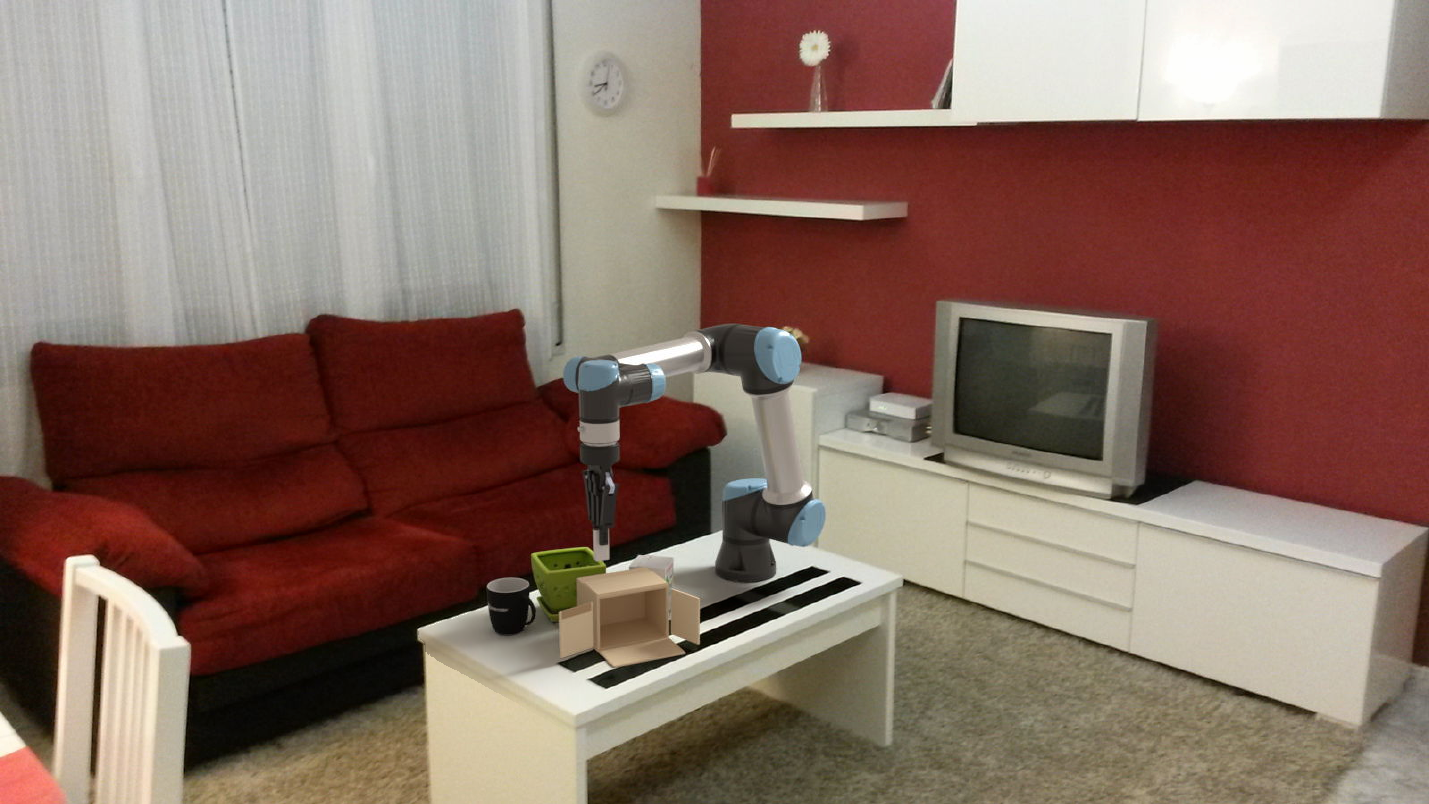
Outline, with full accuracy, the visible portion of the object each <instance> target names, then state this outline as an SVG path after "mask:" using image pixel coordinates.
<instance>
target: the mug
mask: <svg viewBox="0 0 1429 804" xmlns="http://www.w3.org/2000/svg"><path fill="white" fill-rule="evenodd" d="M530 588H531V587H530V583H529V581H528V580H526V579H524V578H520V577H502V578H497V579H494V580H491V581H490V582H488V583H487V585H486V599H487V607H488V615H489V619H490V623H491V624H490V625H491V627H492V630H494V632H495V633H496V634H497V635H502V636H511V635H512V636H514V635H517V634H520V633H522V632H523V631H524V630H525V629H526V626H530V625H531V624H533V623H534V621H535V620H536V617H537V609H536V605H535V603H534V602H533V601H532V599H531V598H530V594H531V593H530ZM529 608H530V612H531V617H530V619H529V620H528V616H529Z"/></svg>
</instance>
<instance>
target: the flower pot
mask: <svg viewBox="0 0 1429 804" xmlns="http://www.w3.org/2000/svg"><path fill="white" fill-rule="evenodd" d="M530 559H531V560H530V561H531V569H532V574H533V577H534V581H535V585H536V588H537V590H538V593H540V596H537V597H536V600H537V603H538V604H539V605H540V607H541V608H542V611H543V612H544V613H545V614H546V616H547V617H548V619H550V620H551V622H554V623H559V612H560V611H563V610H567V609H570V608H573V607H577V578H580V577H586V576H593V575H599V574H605V573H607V565H606V563H604V560H603V561H595V560H594V550H592V549H591V548H589V547H588V546H581V547H569V548H562V549H560V548H559V549H551V550H545V551H537V552H533V553H531V554H530ZM577 563H578V564H577ZM555 565H556V566H555ZM567 565H570V568H566V566H567Z"/></svg>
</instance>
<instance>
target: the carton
mask: <svg viewBox="0 0 1429 804" xmlns="http://www.w3.org/2000/svg"><path fill="white" fill-rule="evenodd" d="M590 602H593V647H592V649H594V650H595V651H596V652H597V653H599V654H600V656H602V657H603V658H604V660H605V661H607V663H609V665H610V666H611V667H612V668H614V669H616V668H621V667H625V666H631V665H635V664H641V663H646V662H651V661H655V660H661V659H666V658H671V657H675V656H680V655H681V656H682V655H685V654H686V652H685V650H684V649H683V648H681V647H680V646H679V645H678V644H677V643H675V641H673V640H672V639H671V638H670V634H671V635H672V636H675V637H677V638H680V639H683V640H685V641H688V642H691V643H693V644H695V645H697V646H698V645H700V644H701V640H700V639H701V638H700V637H701V633H700V631H701V628H700V626H701V618H700V617H701V598H700V597H699V596H698V597H697V596H695V595H692V594H689V593H687V592H685V591H684V592H683V591H681V590H678V589H675V588H674V587H673V588H672V589H671V610H670V611H669V584H668V583H667V582H666V581H665V580H664V579H662V578H661V577H660V576H658V575H657V574H656V573H654V572H653V571H651V570H649V569H648V568H647V567H643V568H636V569H630V570H629V569H625V570H618V571H613V572H606V573H605V574H599V575H593V576H586V577H580V578H577V606H580V605H583V604H586V603H590Z"/></svg>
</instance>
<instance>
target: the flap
mask: <svg viewBox="0 0 1429 804" xmlns="http://www.w3.org/2000/svg"><path fill="white" fill-rule="evenodd" d="M558 628H559V629H558V632H559V633H558V635H559V636H558V637H559V641H558V642H559V658H560V659H563V658H566V657H568V656H571V655H574V654H577V653H580V652H583V651H586V650H589V649H593V602H590V603H586V604H583V605H580V606H577V607H573V608H570V609H567V610H563V611H560V612H559V622H558Z"/></svg>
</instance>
